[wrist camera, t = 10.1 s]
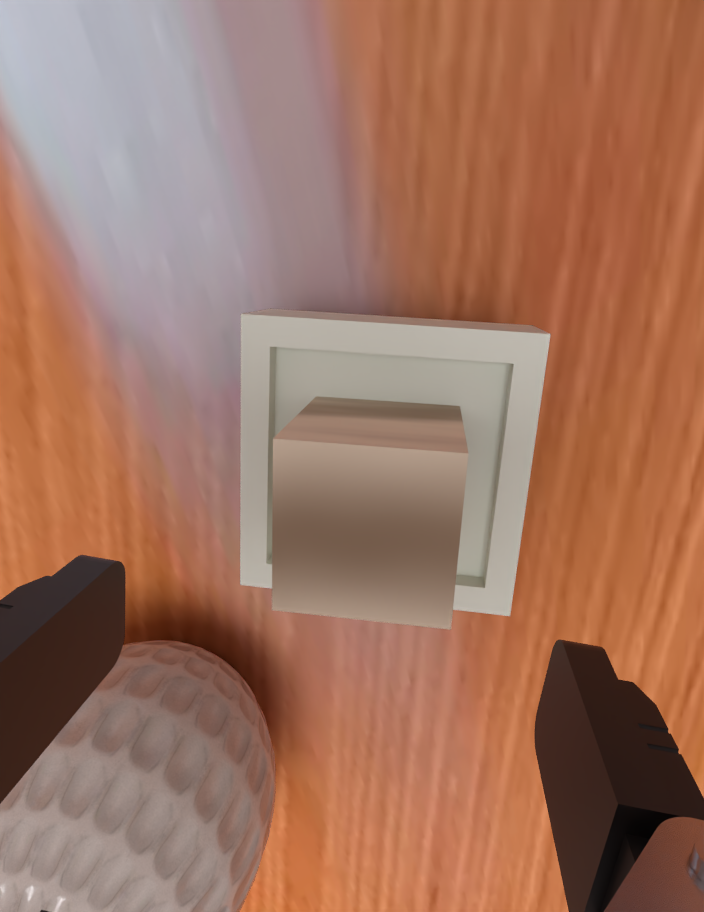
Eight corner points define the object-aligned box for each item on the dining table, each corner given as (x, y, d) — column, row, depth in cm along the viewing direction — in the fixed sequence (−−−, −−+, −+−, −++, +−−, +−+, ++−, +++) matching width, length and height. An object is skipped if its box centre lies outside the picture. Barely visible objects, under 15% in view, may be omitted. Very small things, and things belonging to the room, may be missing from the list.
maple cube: (316, 396, 22) (272, 438, 16) (459, 406, 21) (468, 453, 15) (312, 527, 23) (271, 610, 17) (447, 540, 22) (450, 629, 17)
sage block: (270, 308, 24) (241, 314, 20) (532, 325, 23) (550, 334, 19) (266, 543, 27) (240, 584, 23) (499, 568, 26) (510, 616, 22)
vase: (262, 570, 31) (84, 870, 15) (331, 775, 34) (241, 1202, 18) (47, 613, 34) (-297, 910, 18) (129, 800, 37) (-104, 1196, 21)
